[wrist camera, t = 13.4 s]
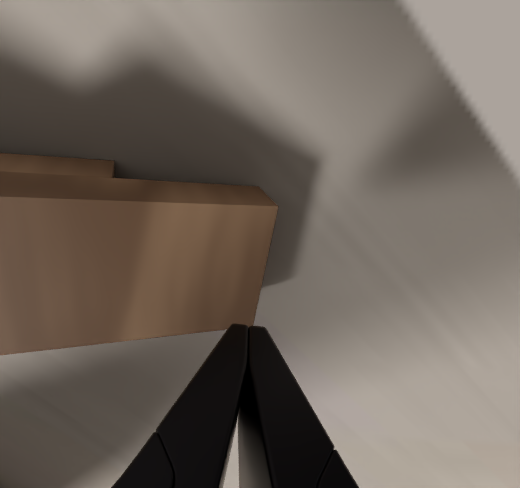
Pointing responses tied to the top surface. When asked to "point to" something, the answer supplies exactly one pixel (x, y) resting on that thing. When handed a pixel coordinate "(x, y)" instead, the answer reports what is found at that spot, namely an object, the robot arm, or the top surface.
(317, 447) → the robot arm
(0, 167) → the tile
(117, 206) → the tile
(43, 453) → the top surface
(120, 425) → the top surface
